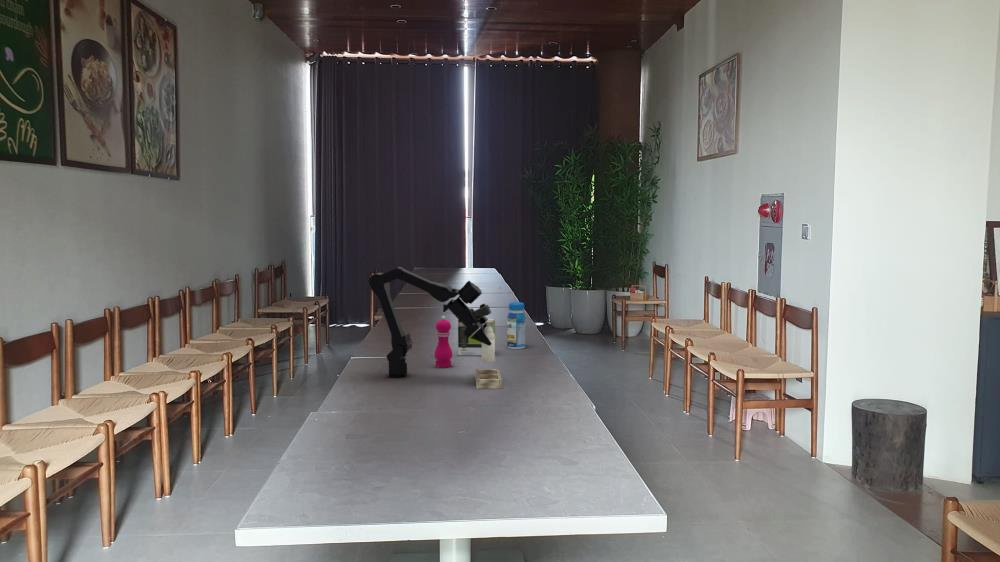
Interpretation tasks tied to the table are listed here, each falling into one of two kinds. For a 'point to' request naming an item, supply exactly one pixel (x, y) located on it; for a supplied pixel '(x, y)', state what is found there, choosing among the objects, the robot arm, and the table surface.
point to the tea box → (471, 340)
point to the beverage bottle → (516, 326)
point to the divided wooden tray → (488, 379)
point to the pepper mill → (443, 344)
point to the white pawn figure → (487, 350)
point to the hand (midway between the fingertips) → (491, 343)
